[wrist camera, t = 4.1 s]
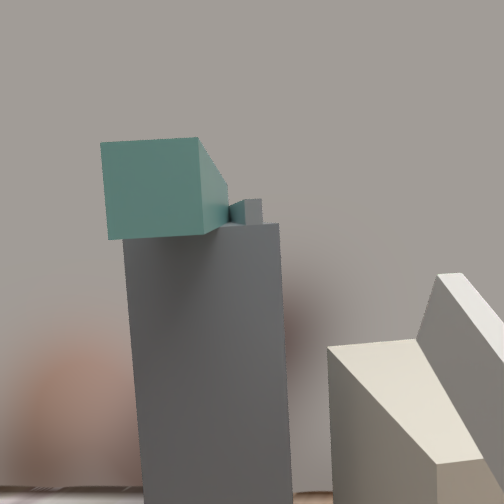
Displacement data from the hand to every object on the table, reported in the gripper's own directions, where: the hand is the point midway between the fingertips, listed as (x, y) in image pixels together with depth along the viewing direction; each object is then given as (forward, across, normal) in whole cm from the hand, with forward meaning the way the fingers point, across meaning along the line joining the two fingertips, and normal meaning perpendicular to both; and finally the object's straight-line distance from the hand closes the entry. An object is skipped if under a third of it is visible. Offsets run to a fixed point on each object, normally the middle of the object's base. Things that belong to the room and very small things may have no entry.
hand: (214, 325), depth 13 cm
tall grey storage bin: (+5, 0, -35) cm, 35 cm away
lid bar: (+15, -1, -6) cm, 17 cm away
